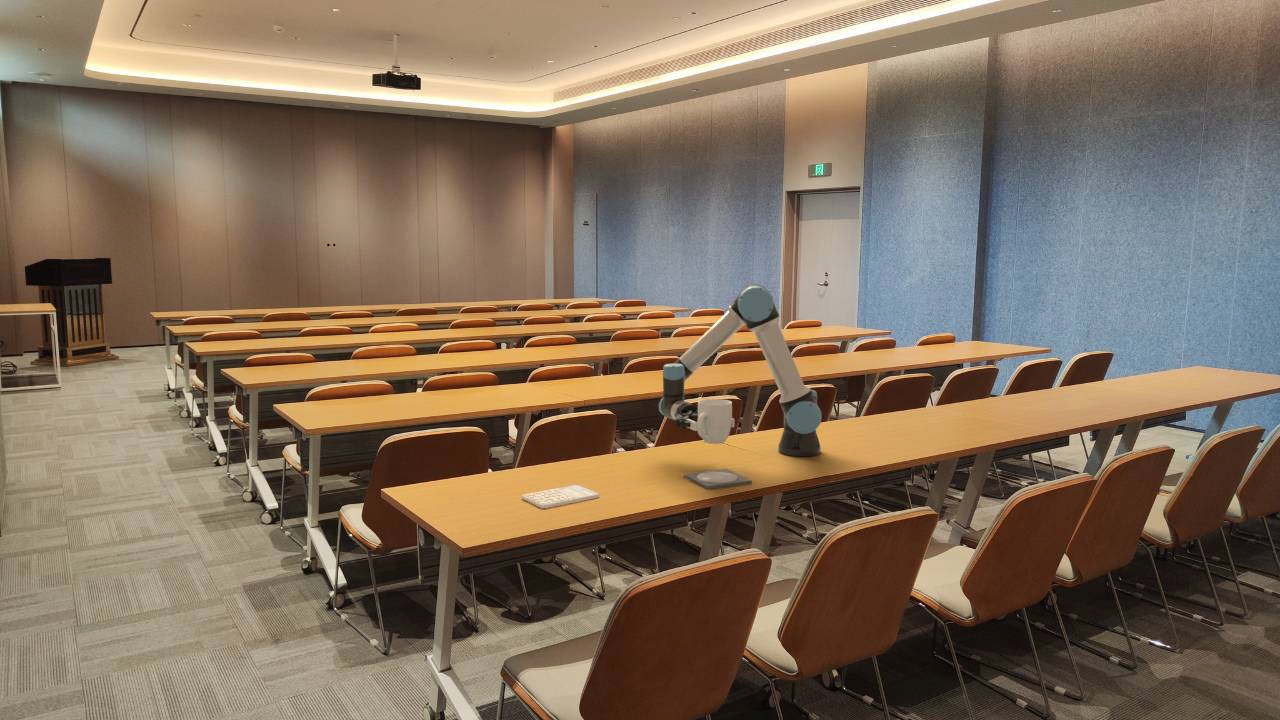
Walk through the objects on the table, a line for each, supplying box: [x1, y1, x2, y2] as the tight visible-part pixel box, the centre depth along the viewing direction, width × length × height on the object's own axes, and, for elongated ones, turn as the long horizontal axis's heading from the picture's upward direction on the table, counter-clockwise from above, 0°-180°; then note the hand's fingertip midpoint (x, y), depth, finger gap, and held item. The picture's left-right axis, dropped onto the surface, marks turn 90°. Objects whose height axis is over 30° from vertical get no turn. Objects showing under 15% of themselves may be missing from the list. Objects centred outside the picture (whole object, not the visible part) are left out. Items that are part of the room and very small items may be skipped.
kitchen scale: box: [683, 468, 753, 490], centre depth 277 cm, size 16×16×1 cm
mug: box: [697, 398, 733, 445], centre depth 276 cm, size 15×11×13 cm
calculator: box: [521, 484, 600, 509], centre depth 258 cm, size 13×20×2 cm, turn 126°
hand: (715, 424), depth 275 cm, fingers closed on mug, 13 cm apart
